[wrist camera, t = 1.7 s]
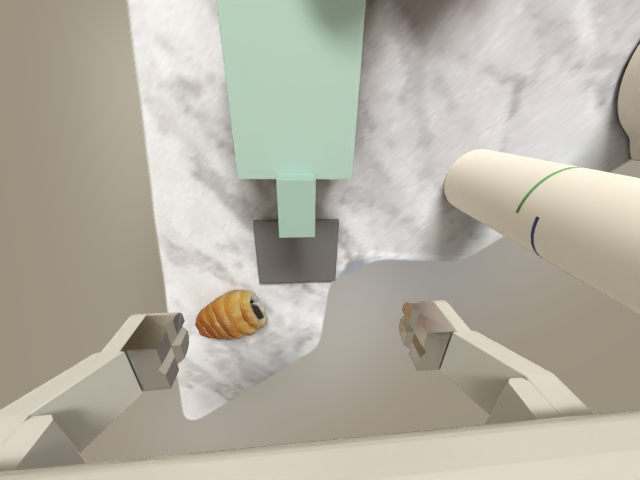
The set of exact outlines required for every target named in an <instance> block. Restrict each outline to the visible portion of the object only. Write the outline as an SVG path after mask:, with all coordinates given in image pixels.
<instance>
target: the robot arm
mask: <svg viewBox="0 0 640 480" xmlns="http://www.w3.org/2000/svg"><path fill="white" fill-rule="evenodd" d="M618 116H619V120H620V123H621V125H622V127H623V129H624V130H625V132H626V133H627V135H628V136H629V139H630V156H631V158H632V159H633V160H636V161H640V44H639V46H638V47H637V49H636V51H635V52H634V54H633V56H632V58H631V60H630V62H629V64H628V66H627V69H626V71H625V74H624V76H623V79H622V82H621V86H620V90H619V96H618ZM402 310H403V313H404V316H403V317H402V319H400V325H399V330H400V336H401V339H402V341H403V344H404V345H405V346H407V347H408V348H409V349H410V352H409V356H410V358H411V360H412V362H413V364H414V366H415V368H416V370H417V371H419V370H440V372H441V373H443V374H444V375H445V376H446V377H447V378H448V379H449V380H451V381H452V382H453V383H454V384H455V385H456V386H458V387H459V388H460V389H461V390H462V391H463V392H464V393H465V394H467V395H468V396H469V397H470V398H471V399H472V400H473V401H474V402H476V403H477V404H478V405H479V406H480V407H481V408H483V409H484V410H485V411H486V412H487V413H488V414H490V416H489V418H488V419H487V421H486V423H485V425H476V426H466V427H456V428H445V429H435V430H425V431H414V432H406V433H405V432H404V433H394V434H384V435H373V436H363V437H353V438H343V439H333V440H322V441H312V442H302V443H293V444H282V445H271V446H261V447H251V448H241V449H231V450H220V451H210V452H201V453H190V454H180V455H169V456H158V457H148V458H138V459H127V460H117V461H107V462H97V463H87V461H86V460H85V459H84V457H83V456H82V455H81V452H82V451H83V450H84V449H85V448H86V447H87V446H88V445H89V444H90V443H91V442H92V441H93V440H94V439H95V438H96V437H97V436H98V435H99V434H100V433H101V432H102V431H104V429H106V428H107V427H108V426H109V424H111V423H112V422H113V421H114V420H115V419H116V418H117V417H118V416H119V415H120V414H121V413H122V412H123V411H124V410H125V409H126V408H127V407H129V405H130V404H132V403H133V402H134V401H135V400H136V399H137V398H138V397H139V396H140V395H141V394H142V391H152V390H161V389H170V388H171V387H172V385H173V382H174V380H175V378H176V376H177V373H178V371H179V368H178V365H177V364H178V363H179V362H180V361H182V360H183V359H184V358H185V355H186V353H187V350H188V345H189V335H188V331H187V330H186V329H185V328H183V327H182V325H183V323H184V318H183V315H182V314H181V313H150V314H134V315H132V316H130V317H129V318H128V319H127V321H126V322H125V323H124V324H123V326H122V327H121V328H120V329H119V330H118V332H117V333H116V334H115V335H114V337H113V338H112V339H111V340H110V342H109V343H108V344H107V345H106V347H105V348H104V349H103V350H102V351H101V353H95V354H93V355H91V356H89V357H88V358H86V359H85V360H83V361H81V362H80V363H78V364H76V365H75V366H73V367H71V368H70V369H68V370H66V371H65V372H63V373H61V374H60V375H58V376H56V377H55V378H53V379H51V380H50V381H48V382H47V383H45V384H43V385H41V386H40V387H38V388H36V389H35V390H33V391H31V392H30V393H28V394H26V395H25V396H23V397H21V398H20V399H18V400H16V401H15V402H13V403H11V404H10V405H8V406H6V407H5V408H3V409H2V410H0V480H640V410H631V411H621V412H610V413H600V414H593V413H592V412H591V411H590V410H589V409H588V408H587V407H586V406H585V405H584V404H583V403H582V402H581V401H580V400H579V399H578V398H577V397H576V396H575V395H574V394H573V393H572V392H571V391H570V390H569V389H568V388H567V387H566V386H565V385H564V384H563V383H562V382H561V381H560V380H559V379H558V378H557V377H556V376H555V375H554V374H552V373H551V372H549V371H547V370H545V369H543V368H542V367H540V366H538V365H536V364H534V363H533V362H531V361H529V360H527V359H525V358H524V357H522V356H520V355H518V354H516V353H514V352H513V351H511V350H509V349H507V348H505V347H504V346H502V345H500V344H498V343H496V342H494V341H493V340H491V339H489V338H487V337H485V336H483V335H482V334H480V333H478V332H476V331H471V330H470V329H469V328H468V327H467V325H466V324H465V323H464V322H463V321H462V319H461V318H460V317H459V316H458V315H457V313H456V312H455V311H454V310H453V309H452V307H451V306H450V305H449V304H448V303H447V302H446V301H445V300H434V301H421V302H405V304H404V305H403V309H402Z"/></svg>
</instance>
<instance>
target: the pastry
mask: <svg viewBox="0 0 640 480" xmlns="http://www.w3.org/2000/svg"><path fill="white" fill-rule="evenodd" d="M267 320H268V318H267V316H266V313H265V309H264V307H263V306H262V305H261V303H260V302H258V298H257V296H256V295H255V293H253V292H250V291H244V290H234V291H231V292H228V293H225V294H224V295H222V296H220V297H219V298H217V299H216V300H214V301H213V302H211V303H210V304H209V305H207V306H206V307H205V308H203V309H202V310H201V312H200V313H199V314H198V316H197V319H196V327H197V329H198V330H199V333H200V335H202V336H205V337H208V338H217V339H218V340H220V339H222V338H226V339H227V340H230V339H232V338H238V339H239V338H242V337H243V336H244V335H245V334H246V335H252V334H254V333H255V332H256V331H257V329H259V328H261V327H262V326H264V325H265V324H266V323H267Z"/></svg>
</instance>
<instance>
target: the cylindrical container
mask: <svg viewBox="0 0 640 480" xmlns="http://www.w3.org/2000/svg"><path fill="white" fill-rule="evenodd" d="M444 193H445V197H446V199H447V201H448V202H449V203H450V204H451V205H452V206H454V207H455V208H457V209H459V210H461V211H462V212H464V213H466V214H467V215H469V216H471V217H473V218H474V219H476V220H478V221H480V222H481V223H483V224H485V225H486V226H488V227H490V228H492V229H493V230H495V231H497V232H499V233H500V234H502V235H504V236H505V237H507V238H509V239H511V240H512V241H514V242H516V243H518V244H519V245H521V246H523V247H524V248H526V249H528V250H530V251H531V252H533V253H535V254H536V255H538V256H540V257H541V258H544V259H545V260H547V261H548V262H550V263H552V264H554V265H555V266H557V267H559V268H560V269H562V270H564V271H566V272H567V273H569V274H571V275H573V276H574V277H576V278H578V279H580V280H581V281H583V282H585V283H586V284H588V285H590V286H591V287H593V288H595V289H597V290H599V291H600V292H602V293H604V294H605V295H607V296H609V297H610V298H612V299H614V300H616V301H617V302H619V303H621V304H622V305H624V306H626V307H628V308H629V309H631V310H633V311H635V312H636V313H638V314H640V178H636V177H630V176H626V175H620V174H615V173H609V172H604V171H599V170H594V169H588V168H583V167H578V166H572V165H567V164H562V163H556V162H551V161H545V160H540V159H535V158H529V157H524V156H518V155H513V154H507V153H502V152H497V151H491V150H485V149H478V150H474V151H471V152H468V153H466V154H465V155H463V156H462V157H460V158H459V159H458V160H457V161H456V162H455V163H454V164H453V165H452V167H451V168H450V170H449V171H448V173H447V175H446V178H445V182H444Z"/></svg>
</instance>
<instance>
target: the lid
mask: <svg viewBox="0 0 640 480" xmlns="http://www.w3.org/2000/svg"><path fill="white" fill-rule="evenodd" d="M216 1H217V9H218V17H219V26H220V34H221V42H222V51H223V59H224V68H225V76H226V84H227V93H228V101H229V109H230V118H231V126H232V134H233V143H234V151H235V159H236V168H237V176H238V179H276V186H277V204H278V223H279V238H289V237H315V201H316V180H315V179H352V172H353V160H354V147H355V134H356V122H357V109H358V96H359V84H360V71H361V58H362V45H363V33H364V20H365V7H366V0H216Z"/></svg>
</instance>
